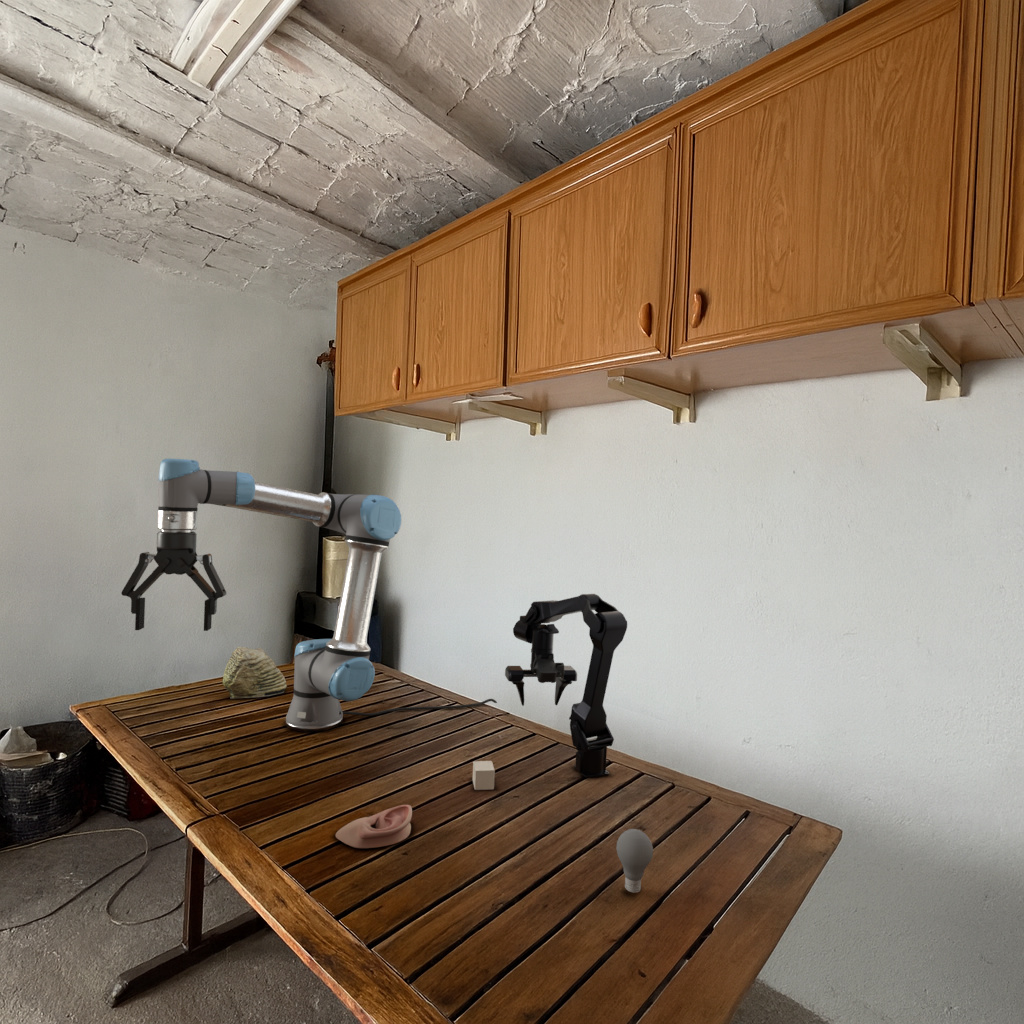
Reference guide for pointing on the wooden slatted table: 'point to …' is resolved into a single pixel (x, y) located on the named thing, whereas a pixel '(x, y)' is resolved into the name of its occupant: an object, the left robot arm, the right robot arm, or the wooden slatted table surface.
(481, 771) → the block
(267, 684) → the fossil
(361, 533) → the left robot arm
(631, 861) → the light bulb
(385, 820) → the anatomical model
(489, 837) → the wooden slatted table surface
